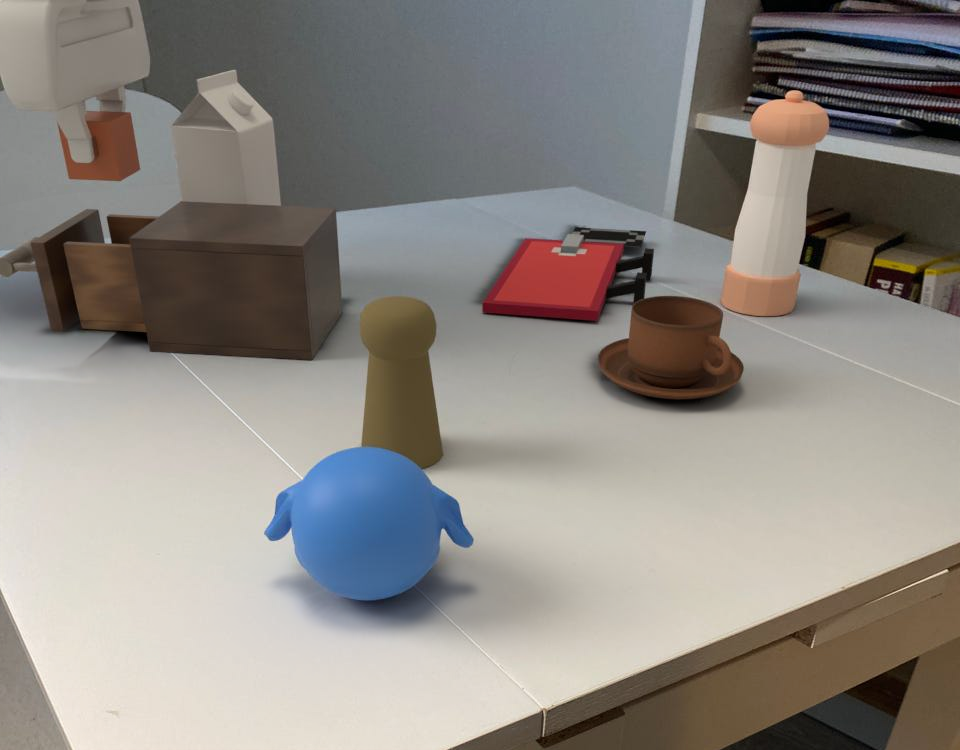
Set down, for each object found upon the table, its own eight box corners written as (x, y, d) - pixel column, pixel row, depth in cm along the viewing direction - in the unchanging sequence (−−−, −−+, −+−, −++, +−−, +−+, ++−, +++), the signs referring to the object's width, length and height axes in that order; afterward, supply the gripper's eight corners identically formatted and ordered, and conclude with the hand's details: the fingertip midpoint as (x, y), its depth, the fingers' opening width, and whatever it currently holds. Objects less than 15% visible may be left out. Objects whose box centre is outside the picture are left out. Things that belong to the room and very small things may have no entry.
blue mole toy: (477, 524, 65) (480, 402, 60) (469, 632, 56) (471, 496, 51) (294, 518, 66) (281, 395, 61) (254, 624, 56) (234, 489, 51)
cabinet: (149, 351, 89) (128, 238, 83) (196, 305, 99) (180, 201, 93) (312, 360, 88) (302, 246, 82) (342, 312, 98) (335, 208, 92)
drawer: (-3, 330, 90) (-27, 239, 85) (54, 290, 99) (34, 206, 94) (199, 341, 88) (186, 249, 84) (238, 300, 98) (227, 215, 93)
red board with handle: (661, 240, 119) (536, 233, 122) (664, 215, 117) (537, 208, 120) (636, 328, 96) (482, 317, 98) (639, 298, 94) (482, 288, 97)
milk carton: (194, 288, 103) (162, 77, 92) (228, 268, 108) (202, 67, 97) (257, 296, 101) (233, 82, 90) (288, 275, 107) (269, 72, 95)
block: (68, 179, 85) (56, 119, 82) (90, 167, 88) (79, 110, 85) (120, 181, 84) (109, 121, 82) (140, 169, 88) (130, 112, 85)
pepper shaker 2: (760, 321, 98) (801, 100, 86) (705, 301, 102) (737, 88, 91) (809, 308, 101) (854, 93, 90) (753, 289, 106) (790, 82, 95)
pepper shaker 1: (422, 477, 70) (420, 321, 64) (345, 462, 72) (335, 308, 66) (455, 443, 75) (456, 294, 68) (382, 429, 77) (376, 282, 70)
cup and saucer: (761, 377, 86) (775, 305, 83) (703, 425, 78) (716, 348, 75) (636, 347, 92) (644, 278, 88) (570, 388, 84) (575, 314, 80)
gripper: (80, -51, 85) (113, 129, 94) (-45, -38, 69) (7, 178, 77) (152, -49, 85) (179, 132, 93) (43, -36, 69) (87, 182, 77)
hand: (100, 154), depth 85 cm, fingers closed on block, 4 cm apart
